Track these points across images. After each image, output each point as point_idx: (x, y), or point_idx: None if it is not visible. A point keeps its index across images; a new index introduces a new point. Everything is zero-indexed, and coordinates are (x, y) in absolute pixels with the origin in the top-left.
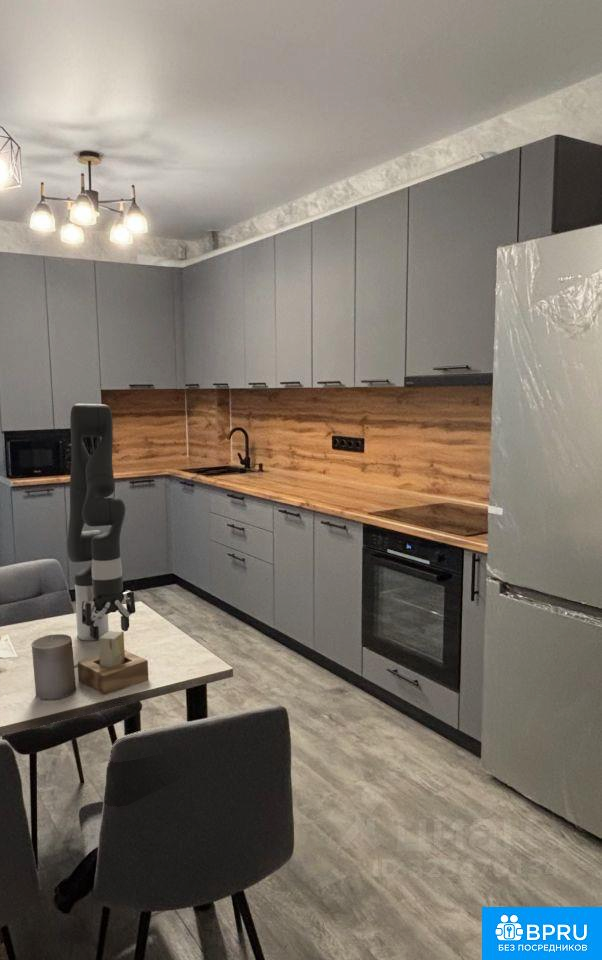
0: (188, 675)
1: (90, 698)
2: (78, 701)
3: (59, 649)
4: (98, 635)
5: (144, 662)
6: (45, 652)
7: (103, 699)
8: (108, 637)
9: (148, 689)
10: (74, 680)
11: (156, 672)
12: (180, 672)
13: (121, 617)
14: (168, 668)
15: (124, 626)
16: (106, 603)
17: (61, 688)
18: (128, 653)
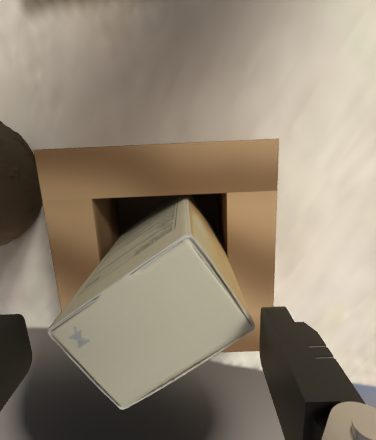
0: (354, 360)
1: (55, 300)
2: (19, 294)
3: None
4: (10, 393)
5: (255, 347)
6: None
7: None
8: (106, 369)
9: (212, 360)
10: (10, 233)
11: (306, 275)
12: (355, 327)
13: (299, 408)
14: (354, 275)
15: (270, 373)
16: None
17: None
18: (263, 228)
